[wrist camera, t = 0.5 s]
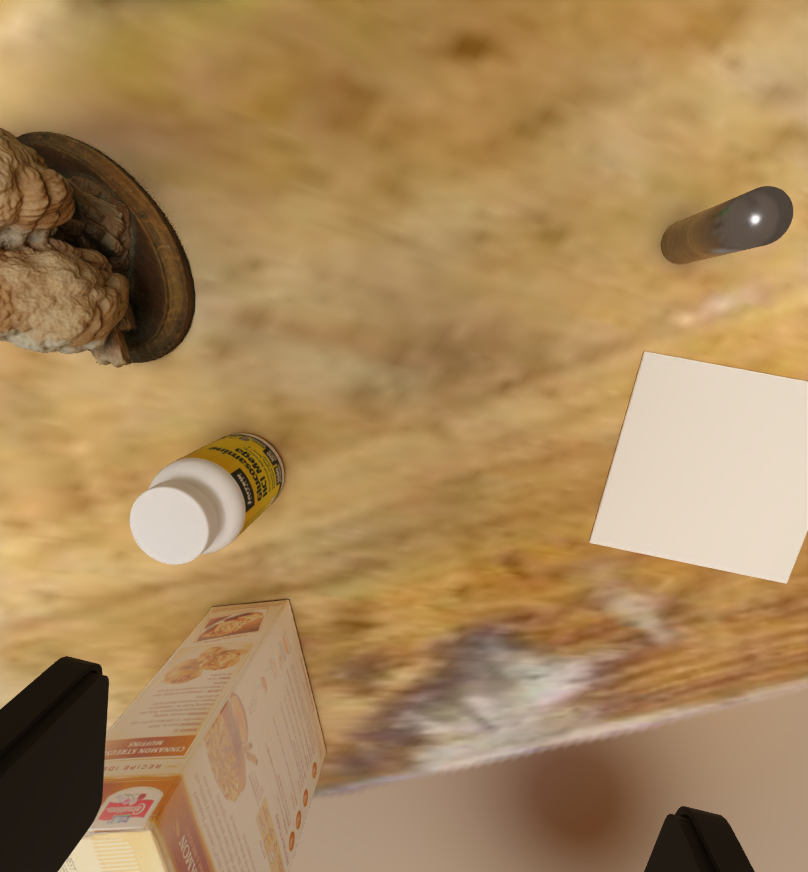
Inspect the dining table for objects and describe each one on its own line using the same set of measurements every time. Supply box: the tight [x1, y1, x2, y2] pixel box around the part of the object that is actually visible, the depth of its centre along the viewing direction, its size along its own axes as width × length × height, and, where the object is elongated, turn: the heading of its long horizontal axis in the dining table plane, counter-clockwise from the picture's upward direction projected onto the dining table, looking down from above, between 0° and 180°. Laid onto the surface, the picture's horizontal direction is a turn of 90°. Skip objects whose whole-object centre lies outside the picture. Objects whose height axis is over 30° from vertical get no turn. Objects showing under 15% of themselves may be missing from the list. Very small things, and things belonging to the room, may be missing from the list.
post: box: [661, 186, 793, 264], centre depth 29 cm, size 3×3×9 cm
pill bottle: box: [130, 433, 284, 565], centre depth 34 cm, size 6×6×11 cm
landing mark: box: [589, 351, 808, 584], centre depth 36 cm, size 14×14×1 cm
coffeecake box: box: [58, 600, 326, 872], centre depth 34 cm, size 15×7×20 cm, turn 10°
